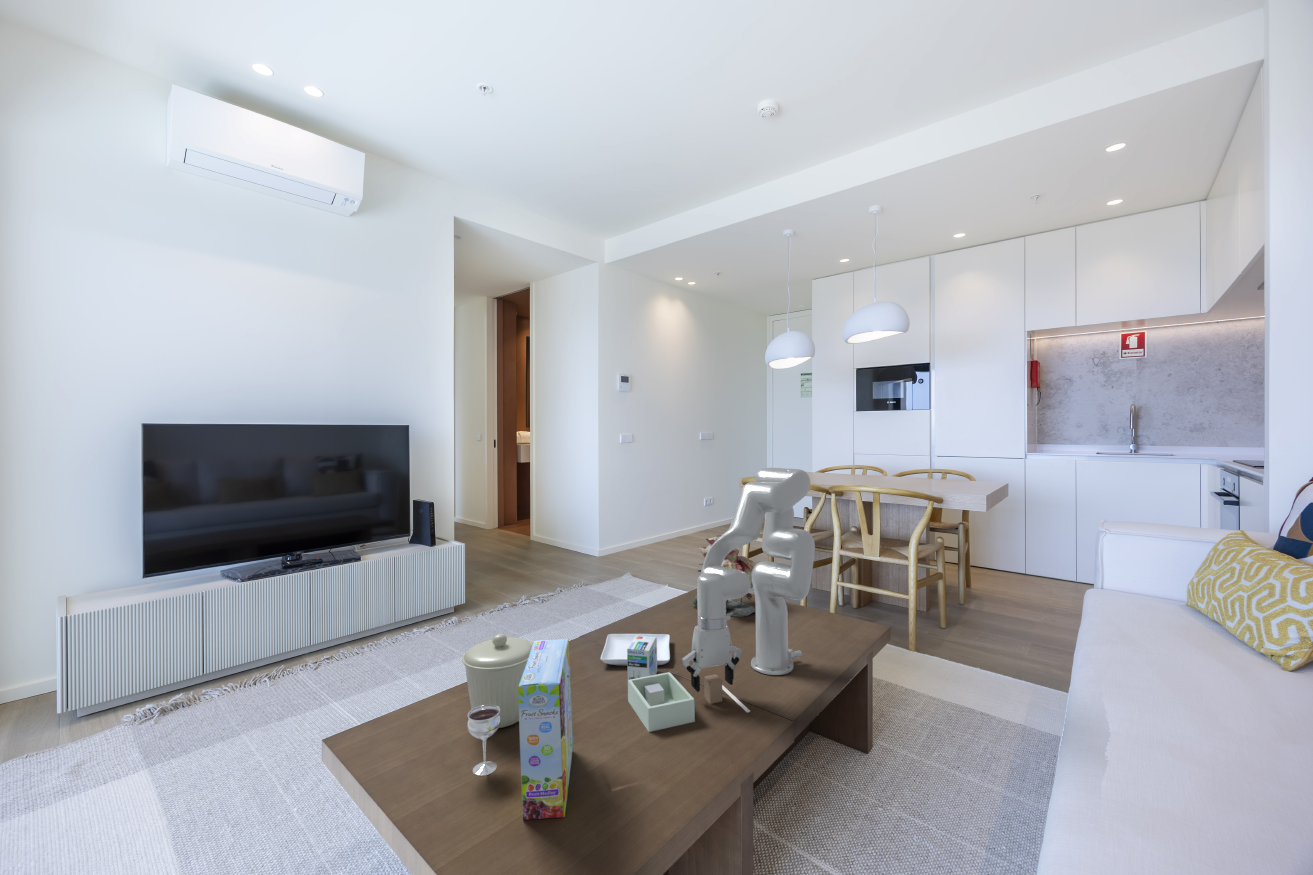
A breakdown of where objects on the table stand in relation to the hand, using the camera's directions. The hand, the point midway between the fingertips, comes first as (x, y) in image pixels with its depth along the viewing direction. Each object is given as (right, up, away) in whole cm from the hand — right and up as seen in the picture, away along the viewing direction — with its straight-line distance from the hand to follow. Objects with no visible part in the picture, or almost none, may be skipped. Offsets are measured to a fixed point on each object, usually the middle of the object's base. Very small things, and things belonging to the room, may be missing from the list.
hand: (712, 685), depth 142 cm
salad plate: (-21, -5, +30) cm, 37 cm away
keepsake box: (-14, -4, -5) cm, 16 cm away
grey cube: (-15, -4, -2) cm, 16 cm away
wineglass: (-52, -5, -27) cm, 59 cm away
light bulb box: (-19, -4, +13) cm, 23 cm away
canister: (-54, -5, -7) cm, 55 cm away
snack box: (-37, -5, -32) cm, 49 cm away
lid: (0, -5, 0) cm, 5 cm away
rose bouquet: (+14, -3, +75) cm, 76 cm away
